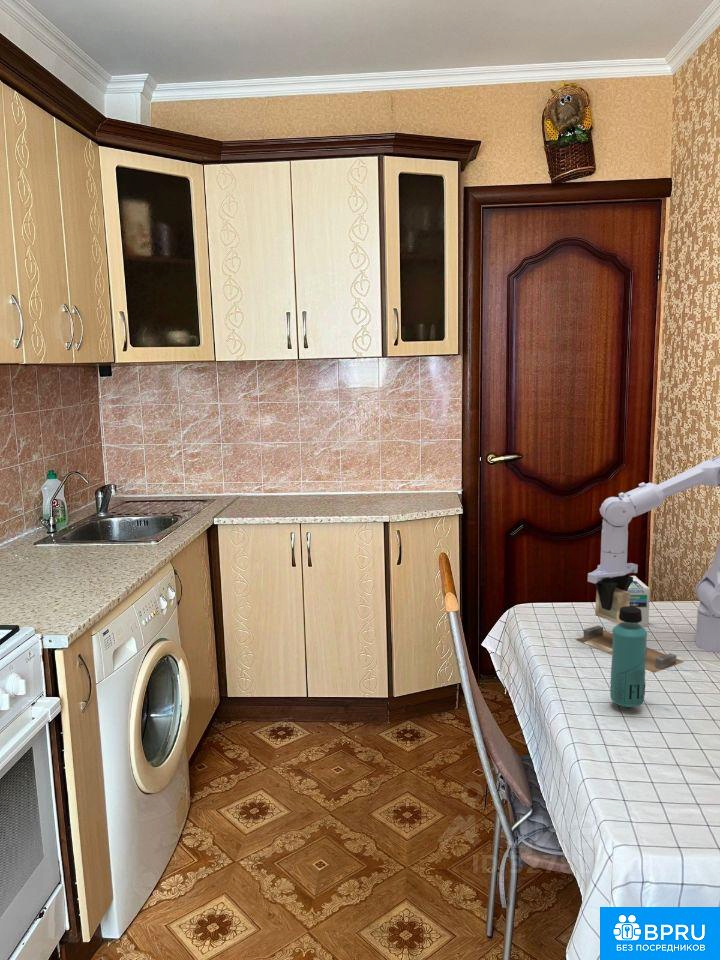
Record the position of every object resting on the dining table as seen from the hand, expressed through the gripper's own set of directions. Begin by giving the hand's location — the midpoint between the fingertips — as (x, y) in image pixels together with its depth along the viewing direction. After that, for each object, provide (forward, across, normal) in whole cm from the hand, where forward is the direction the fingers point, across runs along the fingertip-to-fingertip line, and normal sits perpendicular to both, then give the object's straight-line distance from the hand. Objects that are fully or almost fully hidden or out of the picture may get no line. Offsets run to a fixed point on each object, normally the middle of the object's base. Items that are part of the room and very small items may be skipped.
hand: (611, 607), depth 176 cm
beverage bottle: (+10, +21, +22) cm, 32 cm away
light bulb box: (+10, -16, -8) cm, 20 cm away
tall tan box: (+3, 0, 0) cm, 3 cm away
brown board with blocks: (+10, 0, +5) cm, 11 cm away
